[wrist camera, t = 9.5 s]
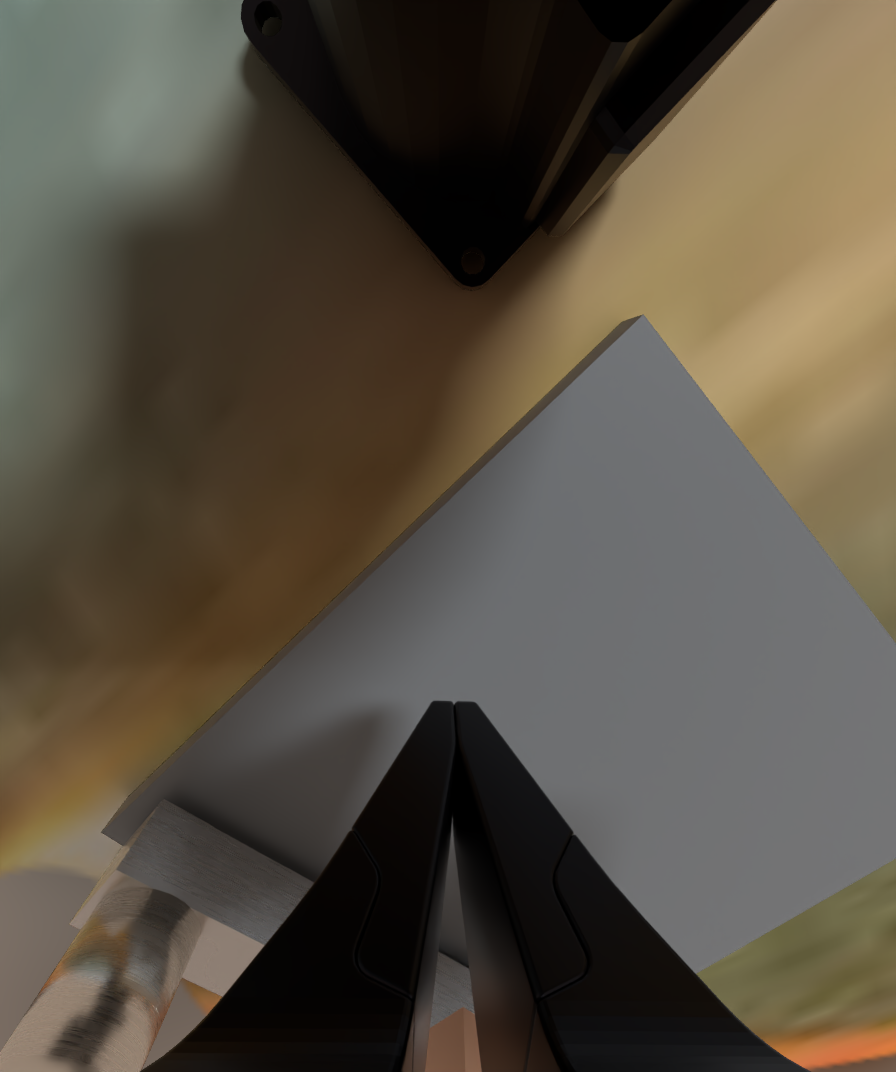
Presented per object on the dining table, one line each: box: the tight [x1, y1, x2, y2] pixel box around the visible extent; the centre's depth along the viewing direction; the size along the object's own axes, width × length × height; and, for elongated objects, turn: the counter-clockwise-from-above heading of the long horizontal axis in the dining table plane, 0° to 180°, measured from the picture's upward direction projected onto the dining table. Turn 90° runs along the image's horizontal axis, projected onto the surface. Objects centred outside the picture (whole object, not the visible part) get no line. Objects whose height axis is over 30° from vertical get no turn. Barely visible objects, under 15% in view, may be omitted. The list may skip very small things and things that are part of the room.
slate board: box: [101, 315, 896, 973], centre depth 14 cm, size 18×20×1 cm
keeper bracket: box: [425, 1007, 482, 1072], centre depth 15 cm, size 2×10×6 cm, turn 134°
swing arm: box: [0, 799, 475, 1072], centre depth 13 cm, size 17×5×5 cm, turn 50°
